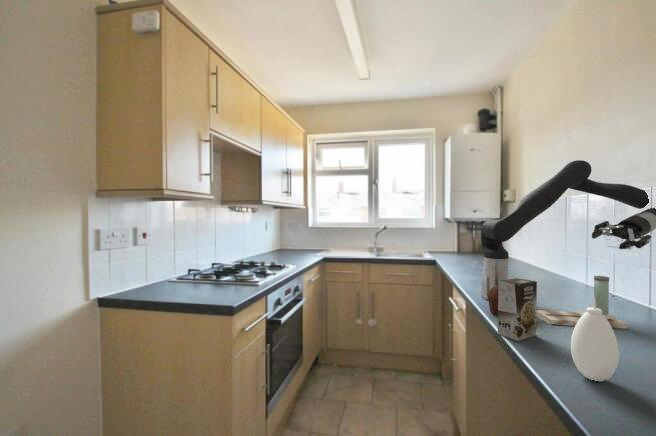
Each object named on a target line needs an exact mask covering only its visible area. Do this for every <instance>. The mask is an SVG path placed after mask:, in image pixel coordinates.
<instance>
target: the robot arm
mask: <svg viewBox="0 0 656 436" xmlns="http://www.w3.org/2000/svg"><path fill="white" fill-rule="evenodd" d="M591 173H592V166H591V164H590V163H589V162H588V161H585V160H582V159H581V160H580V159H577V160H573V161H570V162H569V163H567V164H566V165H565V166H563V167H562V169H560V170H559V171H558V172H557V173H556V174H555V175H554V176H552V177H551V178H549V179H548V180H547V181H545V182H543V183H542V184H540V185H539V186H537V188H534V189H533V190H532V191H531V192H529V193H528V194H526V195H525V196H524V197H522V198H521V200H520V201H519V203H518V204H517V207H516V209H515V210H514V211H513V212H511V213H510V214H508V215H507V216H505V217H503V218H500V219H487V220H486V221H484V222H483V224H482V225H481V228H480V244H481V245H480V247H481V251H482V253H483V263H482V264H483V270H482V271H483V273H482V274H481V297H482V298H484V300H485V301H486V300H487V301H488V296H487V293H488V291H489V290H490V289H491V288H493V287H495V286H498V285H499V281H500V280H507V279H509V264H510V263H509V260H510V259H509V255H510V254H509V251H508V250H506V249H505V247H504V245H503V243H505V242H508V241H510V240H511V238H514V236H515V235H516V234H517V233H518V232H520V231H521V229H522V228H524V226H526V225H527V224H528V223H530V222H531V221H533V220H535V218H537V217H539V216H540V215H541V214H543V213H544V212H545V211H547V210H549V209H550V208H551V207H553V205H554V204H555V203H556V202H557V201H558V200H559V199H560V198H561V197H562V196H563V195H564V194H565V193H566V191H567V190H568V189H571V190H575V191H579V192H581V193H582V192H583V193H587V194H591V195H595V196H600V197H604V198H607V199H611V200H613V201H616V202H619V203H622V204H624V205H627V206H630V207H631V208H635V209H638V210H640V209H641V210H642V208H643V209H645V208H646V207H647V206H646V205H647V204H648V203H649V199H648V195H647V193H646V192H645V191H646V190H645V189H642V188H639V187H635V186H633V185H629V184H624V183H606V182H599V181H595V180H592V179H591V178H589V177H590V176H591ZM645 206H646V207H645ZM644 207H645V208H644ZM655 230H656V209H655V207H650V208H647V209H645V210H642V211H640V212H637V213H635V214H632V215H631V216H628V217H627V218H625V219H622V220H621V221H619V222H618V223H616V224H611V223H610V221H609V220H606V221H603V222H600V223H598V224H595V225H594V227H593V232H592V233H591V238H592V239H593V240H594V239H597V238H599V237H601V236H606V237H616V238H620V239H622V240H624V241H623V242H620V244H619V247H618V249H620V250H626V249H629V248H632V247H635V248H637V249H642V248H643V247H645V246H646V245H648V244H649V243H650V242H651V238H652V235H650V233H652V232H653V231H655Z"/></svg>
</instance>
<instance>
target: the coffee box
mask: <svg viewBox="0 0 656 436" xmlns="http://www.w3.org/2000/svg"><path fill="white" fill-rule="evenodd" d="M537 284H538V281H535V280H531V279H525V278H518V277H515V278H508V279H507V280H500V281H499V296H498V316H497V334H498V335H499V336H504V337H506V338H507V339H511V340H513V341H516V342H520V341H523V340H526V339H529V338H532V337H537V316H536V310H537V308H538V307H537V306H538V305H537V299H538V298H537V297H538V295H537V294H538V292H537V291H538V289H537V288H538V285H537Z"/></svg>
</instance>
